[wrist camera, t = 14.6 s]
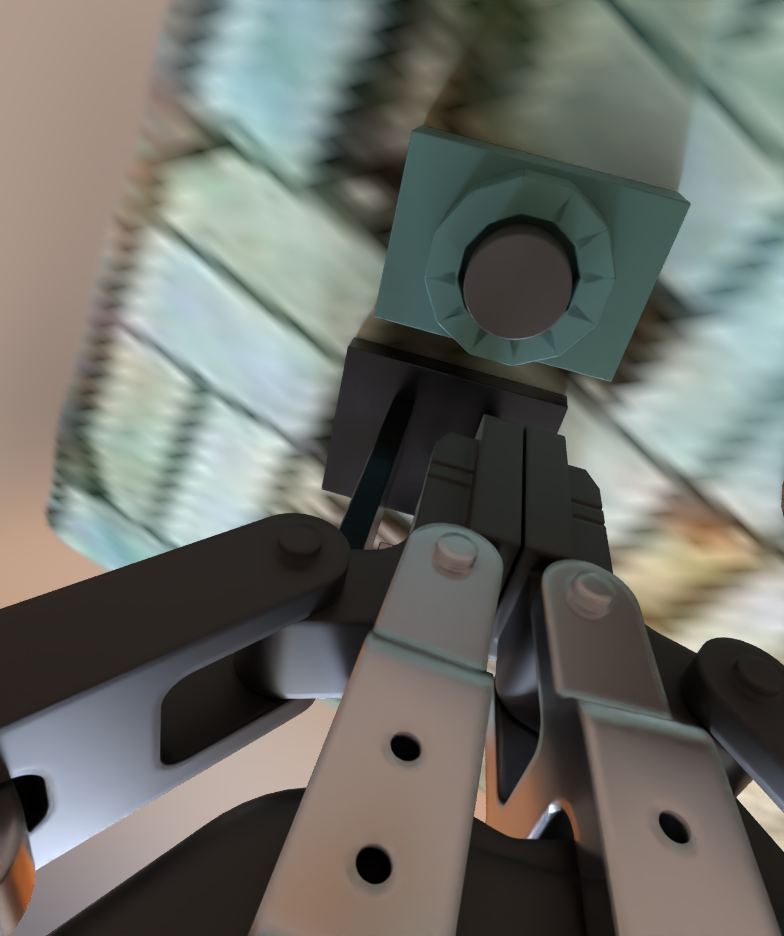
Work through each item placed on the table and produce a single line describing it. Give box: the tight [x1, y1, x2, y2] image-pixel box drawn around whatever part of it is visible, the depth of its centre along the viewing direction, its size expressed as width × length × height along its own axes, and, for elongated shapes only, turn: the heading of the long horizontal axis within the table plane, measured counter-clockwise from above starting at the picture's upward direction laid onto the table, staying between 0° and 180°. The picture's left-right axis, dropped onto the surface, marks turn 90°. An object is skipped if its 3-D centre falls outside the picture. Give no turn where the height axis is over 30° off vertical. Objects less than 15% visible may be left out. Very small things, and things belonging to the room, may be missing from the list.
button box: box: [374, 125, 690, 382], centre depth 24 cm, size 10×7×4 cm
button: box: [463, 223, 572, 340], centre depth 22 cm, size 4×4×2 cm
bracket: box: [322, 338, 568, 550], centre depth 26 cm, size 8×10×13 cm
